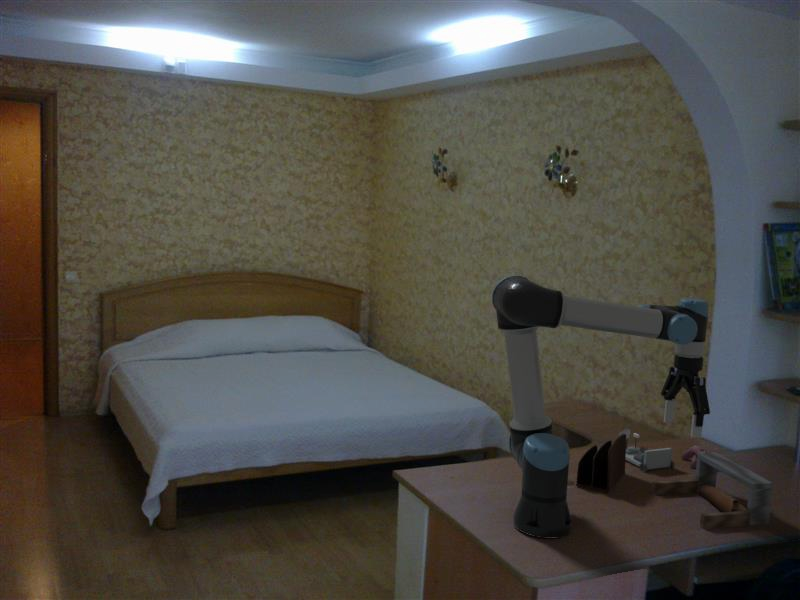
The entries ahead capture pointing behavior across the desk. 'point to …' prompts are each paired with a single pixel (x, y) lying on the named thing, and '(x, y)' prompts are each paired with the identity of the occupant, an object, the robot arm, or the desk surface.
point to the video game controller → (693, 454)
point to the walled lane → (707, 476)
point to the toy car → (647, 455)
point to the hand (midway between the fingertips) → (681, 429)
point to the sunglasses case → (721, 499)
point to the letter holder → (602, 466)
